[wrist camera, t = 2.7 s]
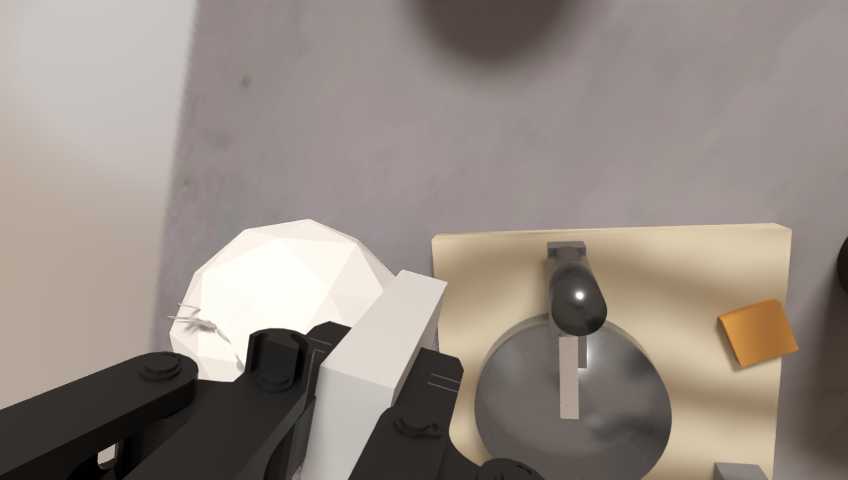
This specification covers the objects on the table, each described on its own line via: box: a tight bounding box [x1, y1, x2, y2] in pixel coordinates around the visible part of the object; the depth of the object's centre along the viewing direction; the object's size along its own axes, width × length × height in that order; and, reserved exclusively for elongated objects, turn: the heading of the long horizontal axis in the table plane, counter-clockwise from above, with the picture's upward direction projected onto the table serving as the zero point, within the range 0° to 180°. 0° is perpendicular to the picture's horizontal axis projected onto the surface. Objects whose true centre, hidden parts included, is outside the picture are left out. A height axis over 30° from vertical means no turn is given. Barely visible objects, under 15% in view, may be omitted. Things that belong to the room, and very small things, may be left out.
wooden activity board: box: [432, 223, 799, 480], centre depth 30 cm, size 20×20×6 cm
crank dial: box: [474, 241, 672, 480], centre depth 26 cm, size 16×11×9 cm
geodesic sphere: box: [167, 219, 395, 382], centre depth 30 cm, size 14×14×14 cm
